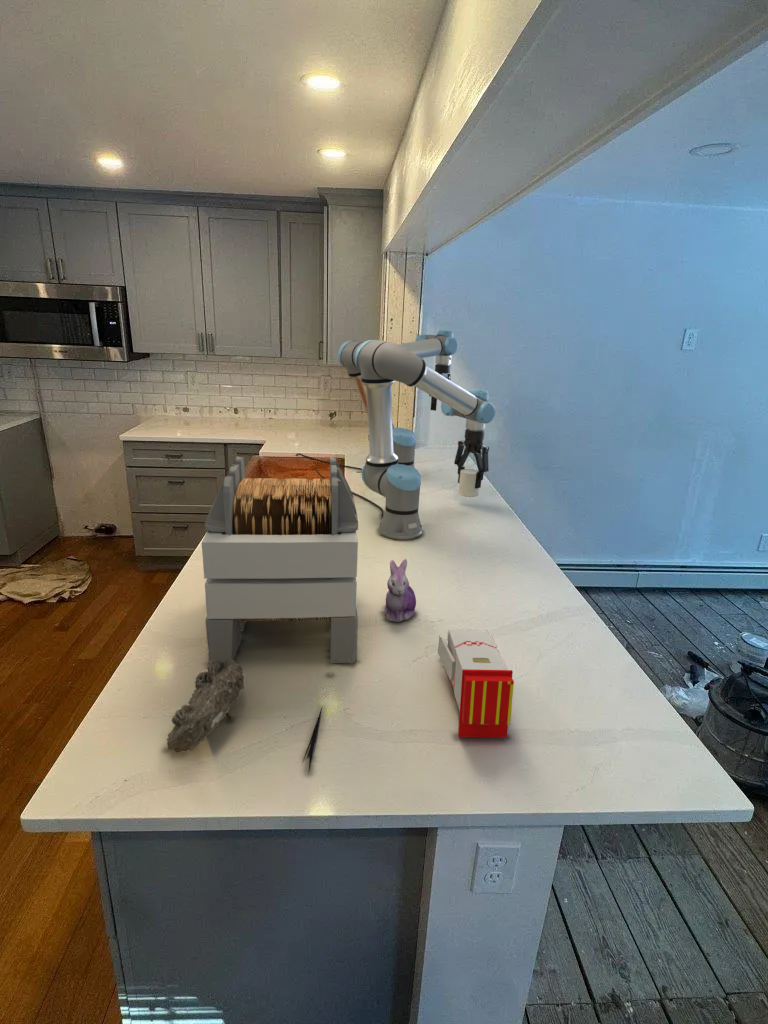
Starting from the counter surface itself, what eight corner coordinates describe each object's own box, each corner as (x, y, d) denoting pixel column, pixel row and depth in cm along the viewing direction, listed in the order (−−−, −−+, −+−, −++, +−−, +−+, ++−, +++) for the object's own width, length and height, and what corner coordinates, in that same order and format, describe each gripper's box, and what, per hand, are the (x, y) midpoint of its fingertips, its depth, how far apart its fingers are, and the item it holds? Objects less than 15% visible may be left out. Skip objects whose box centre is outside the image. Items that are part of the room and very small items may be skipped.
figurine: (392, 627, 141) (395, 572, 136) (374, 608, 149) (376, 556, 144) (425, 619, 145) (429, 566, 140) (405, 601, 154) (408, 550, 149)
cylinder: (471, 498, 225) (473, 475, 222) (454, 493, 230) (456, 470, 227) (481, 494, 231) (484, 471, 228) (465, 489, 236) (467, 467, 232)
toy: (488, 613, 130) (523, 677, 101) (484, 667, 133) (517, 744, 104) (435, 612, 130) (455, 676, 101) (432, 666, 133) (451, 743, 103)
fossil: (192, 660, 117) (244, 628, 112) (224, 691, 120) (276, 661, 115) (142, 746, 98) (202, 712, 93) (182, 779, 101) (242, 748, 96)
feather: (331, 679, 122) (336, 673, 122) (307, 777, 96) (313, 769, 95) (324, 675, 122) (329, 669, 121) (298, 772, 95) (304, 764, 95)
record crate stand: (229, 593, 154) (221, 446, 140) (349, 591, 157) (353, 448, 144) (206, 668, 122) (192, 488, 108) (357, 664, 126) (363, 489, 112)
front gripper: (502, 433, 217) (495, 490, 224) (460, 424, 231) (454, 477, 238) (491, 435, 212) (484, 493, 219) (448, 425, 226) (443, 480, 233)
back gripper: (438, 366, 260) (434, 412, 267) (461, 363, 280) (457, 406, 287) (423, 365, 264) (420, 410, 271) (447, 362, 284) (444, 404, 291)
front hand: (469, 485), depth 229 cm, fingers closed on cylinder, 8 cm apart
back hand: (439, 408), depth 279 cm, fingers open, 13 cm apart
